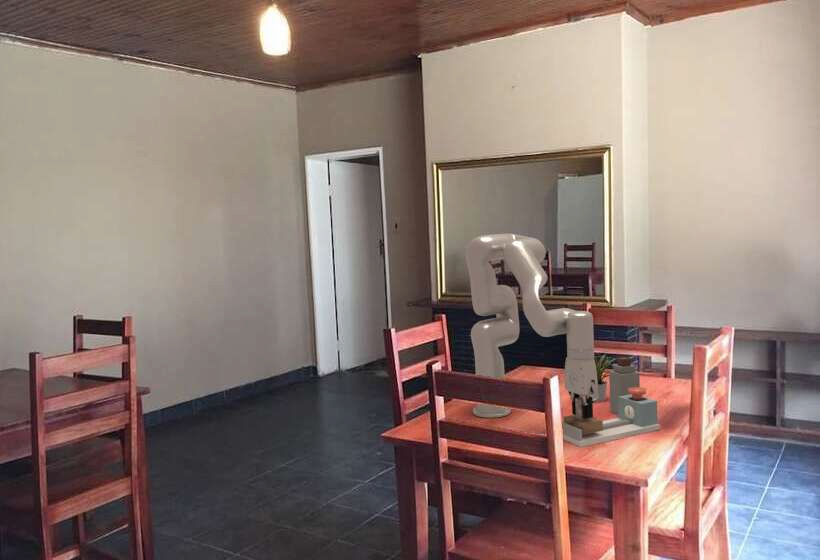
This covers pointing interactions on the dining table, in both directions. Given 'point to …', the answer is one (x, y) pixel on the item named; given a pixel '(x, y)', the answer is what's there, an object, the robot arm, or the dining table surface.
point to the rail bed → (605, 432)
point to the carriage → (583, 420)
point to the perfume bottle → (622, 381)
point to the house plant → (601, 384)
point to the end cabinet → (638, 410)
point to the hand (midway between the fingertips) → (582, 415)
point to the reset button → (637, 392)
